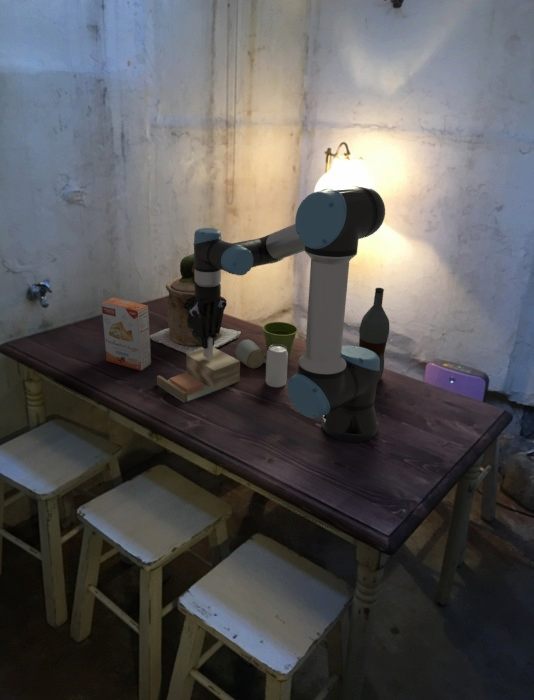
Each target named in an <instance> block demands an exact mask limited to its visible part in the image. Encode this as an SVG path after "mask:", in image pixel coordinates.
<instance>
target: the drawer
mask: <svg viewBox="0 0 534 700" xmlns="http://www.w3.org/2000/svg"><path fill="white" fill-rule="evenodd" d="M156 385H157V386H158V387H160V388H161V389H163V390H164V391H165V392H167V393H169V394H170V395H171V396H174V397H175V398H176V399H178V400H179V401H180V402H182V403H184V404H185V403H188V402H191V401H192V400H195V399H198V398H201V397H204V396H206V395H209V394H211V393H213V392H215V391H214V390H213V389H212V388H210V387H208V386H207V385H205V384H204V389H203V390H200V391H197V392H195V393H192V394H190V395H187V392H185V391H183V390H182V389H180V388H179V387H177V386H176V385H174V384H173V383H171V382H170V381H169V379H166V378H165V377H163V376H162V375H160V374H159V375H157V376H156Z"/></svg>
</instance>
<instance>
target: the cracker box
mask: <svg viewBox="0 0 534 700" xmlns="http://www.w3.org/2000/svg"><path fill="white" fill-rule="evenodd" d="M101 311H102V321H103V322H102V323H103V334H104V335H103V336H104V346H105V356H106V357H105V358H106V362H108V363H109V362H110V363H113V364H116V365H120V366H121V367H122V366H123V367H125V368H129V369H132V370H136V371H139V372H142V371H143V370H145V369H146V368H148V367H149V366H151V365H152V357H151V356H152V354H151V338H150V335H151V334H150V333H151V332H150V331H151V330H150V314H149V305H147V304H142V303H140V302H139V303H138V302H134V301H130V300H125V299H121V298H119V297H118V298H117V297H111V298H109V299H106V300H103V301H102V302H101Z"/></svg>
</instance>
